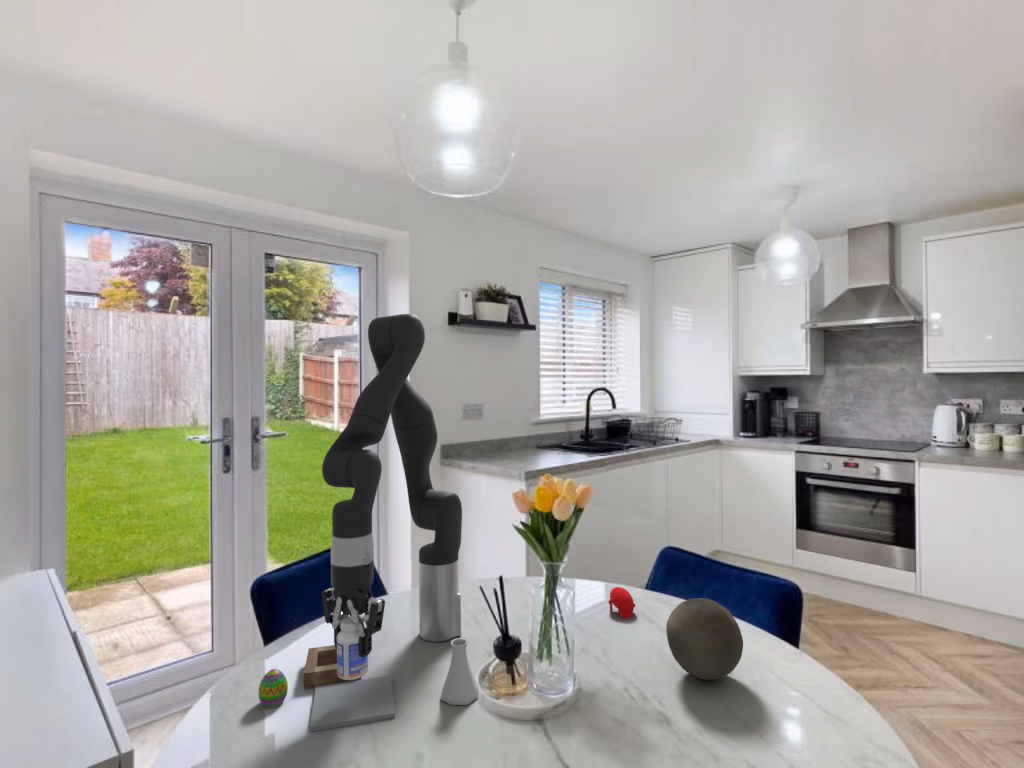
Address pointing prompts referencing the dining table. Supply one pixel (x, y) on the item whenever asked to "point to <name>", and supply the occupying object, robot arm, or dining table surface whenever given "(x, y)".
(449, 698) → the flask
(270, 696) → the egg
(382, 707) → the slate mat
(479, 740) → the dining table surface
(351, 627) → the pill bottle
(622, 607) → the red rounded figure
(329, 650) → the walnut socket
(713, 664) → the grey river stone
